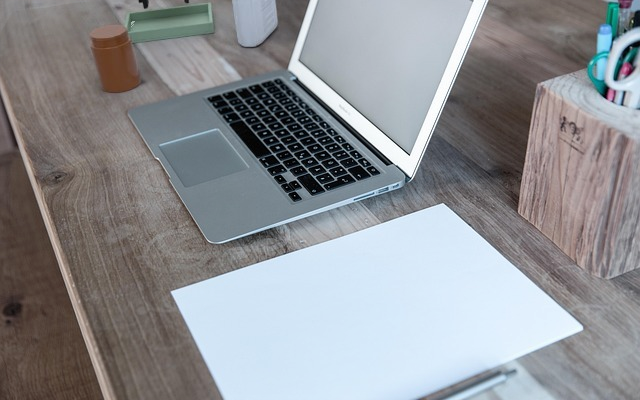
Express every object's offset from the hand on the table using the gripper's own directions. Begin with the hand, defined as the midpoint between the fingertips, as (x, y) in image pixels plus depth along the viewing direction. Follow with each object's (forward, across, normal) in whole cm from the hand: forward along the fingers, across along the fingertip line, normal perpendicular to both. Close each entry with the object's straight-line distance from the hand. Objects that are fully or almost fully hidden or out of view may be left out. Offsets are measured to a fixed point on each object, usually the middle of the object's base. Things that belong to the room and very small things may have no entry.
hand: (166, 2), depth 123 cm
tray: (+5, 0, 0) cm, 5 cm away
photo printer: (+5, -15, +9) cm, 18 cm away
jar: (+4, +7, +21) cm, 23 cm away
